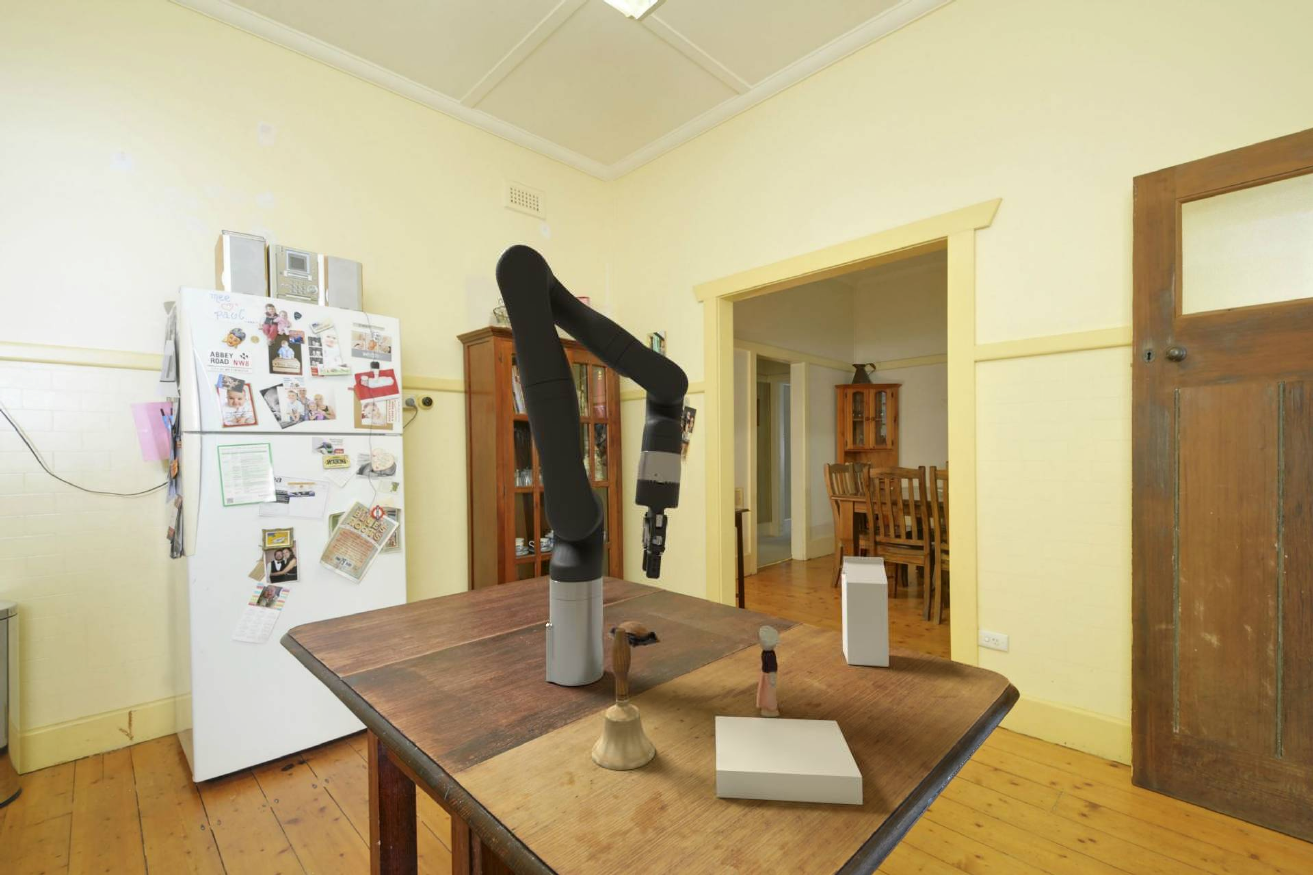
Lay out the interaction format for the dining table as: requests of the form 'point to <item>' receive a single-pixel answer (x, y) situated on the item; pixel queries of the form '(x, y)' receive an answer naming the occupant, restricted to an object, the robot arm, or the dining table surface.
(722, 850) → the dining table surface
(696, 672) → the dining table surface
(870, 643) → the milk carton
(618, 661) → the hand bell
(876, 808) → the dining table surface
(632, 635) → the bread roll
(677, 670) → the dining table surface
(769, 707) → the grandmother figurine
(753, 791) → the stone slab
